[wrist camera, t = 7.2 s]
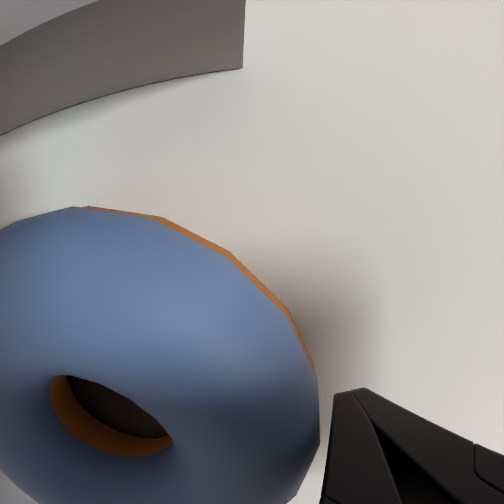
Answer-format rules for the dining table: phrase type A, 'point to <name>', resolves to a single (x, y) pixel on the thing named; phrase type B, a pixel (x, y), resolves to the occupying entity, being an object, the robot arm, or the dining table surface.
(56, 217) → the doughnut
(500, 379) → the dining table surface
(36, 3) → the box
